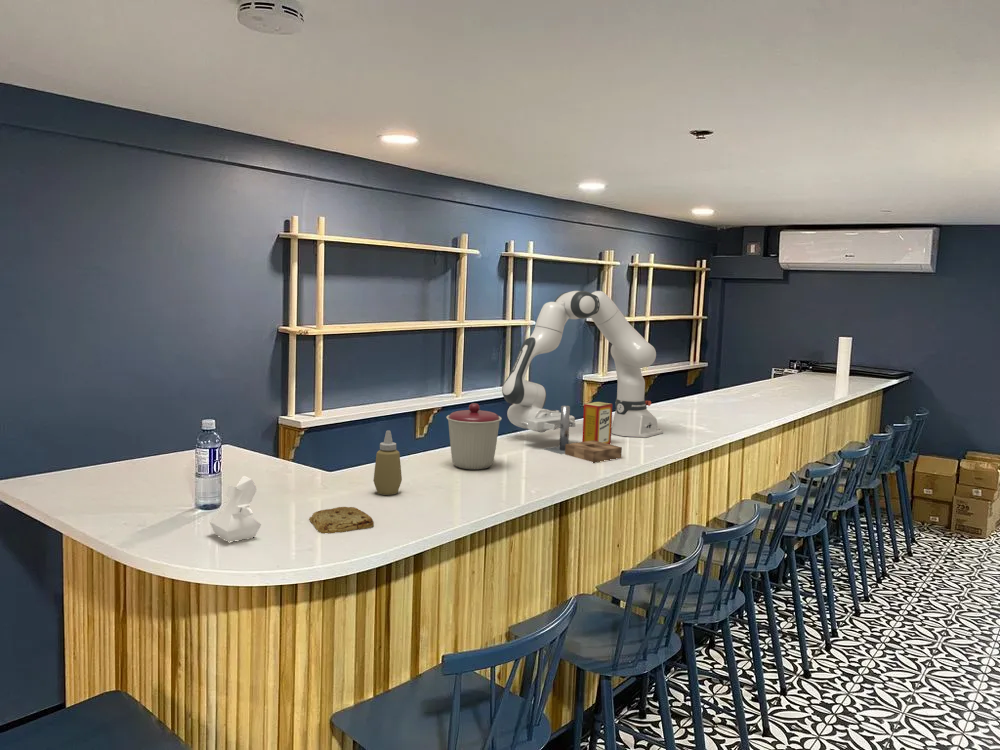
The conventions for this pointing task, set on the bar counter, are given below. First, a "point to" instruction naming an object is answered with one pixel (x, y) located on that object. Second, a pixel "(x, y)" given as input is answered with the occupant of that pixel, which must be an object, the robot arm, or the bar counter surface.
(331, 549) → the bar counter surface
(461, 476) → the bar counter surface
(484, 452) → the canister
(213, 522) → the white faceted figurine
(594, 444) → the hole block
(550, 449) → the mat
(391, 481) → the squeeze bottle
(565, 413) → the pin
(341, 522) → the pastry
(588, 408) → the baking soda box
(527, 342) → the robot arm
